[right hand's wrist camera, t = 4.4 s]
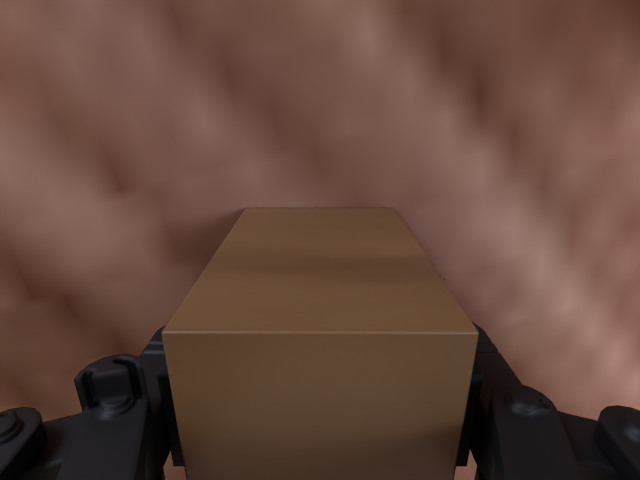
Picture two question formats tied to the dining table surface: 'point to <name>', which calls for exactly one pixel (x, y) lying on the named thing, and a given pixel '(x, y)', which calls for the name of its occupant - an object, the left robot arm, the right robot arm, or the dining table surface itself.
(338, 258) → the bar
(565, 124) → the dining table surface
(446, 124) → the dining table surface
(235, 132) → the dining table surface
